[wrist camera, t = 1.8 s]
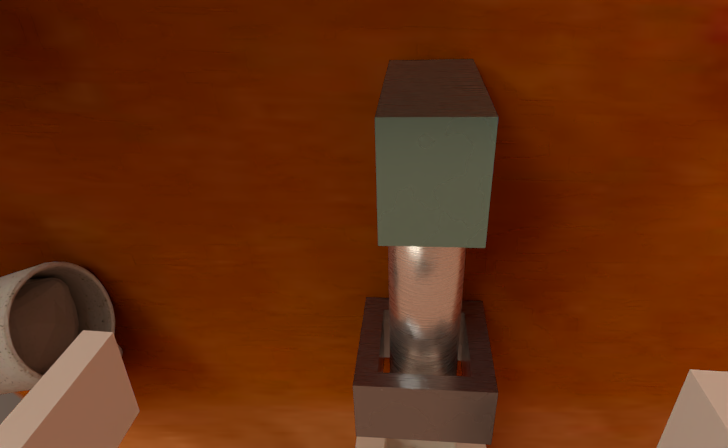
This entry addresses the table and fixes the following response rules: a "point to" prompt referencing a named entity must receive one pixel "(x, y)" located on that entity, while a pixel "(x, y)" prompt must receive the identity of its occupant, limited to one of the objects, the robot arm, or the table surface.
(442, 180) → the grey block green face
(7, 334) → the ceramic mug
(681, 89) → the table surface
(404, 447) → the socket block
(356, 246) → the table surface
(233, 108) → the table surface
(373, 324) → the square hollow collar
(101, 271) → the table surface
